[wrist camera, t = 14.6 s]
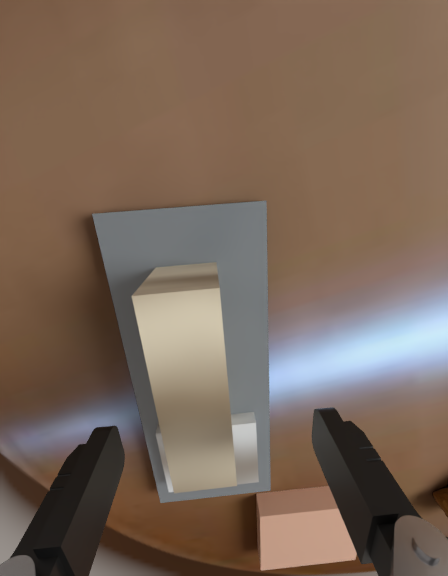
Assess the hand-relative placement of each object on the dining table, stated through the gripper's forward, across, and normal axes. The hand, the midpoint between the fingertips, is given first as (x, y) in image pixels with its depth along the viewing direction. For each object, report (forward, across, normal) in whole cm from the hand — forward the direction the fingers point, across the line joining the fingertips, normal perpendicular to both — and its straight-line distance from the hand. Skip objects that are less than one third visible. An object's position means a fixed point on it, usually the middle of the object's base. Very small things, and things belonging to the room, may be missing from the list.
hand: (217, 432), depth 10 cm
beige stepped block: (+4, +1, +2) cm, 5 cm away
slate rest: (+5, +1, +1) cm, 6 cm away
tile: (+5, -6, +13) cm, 15 cm away
